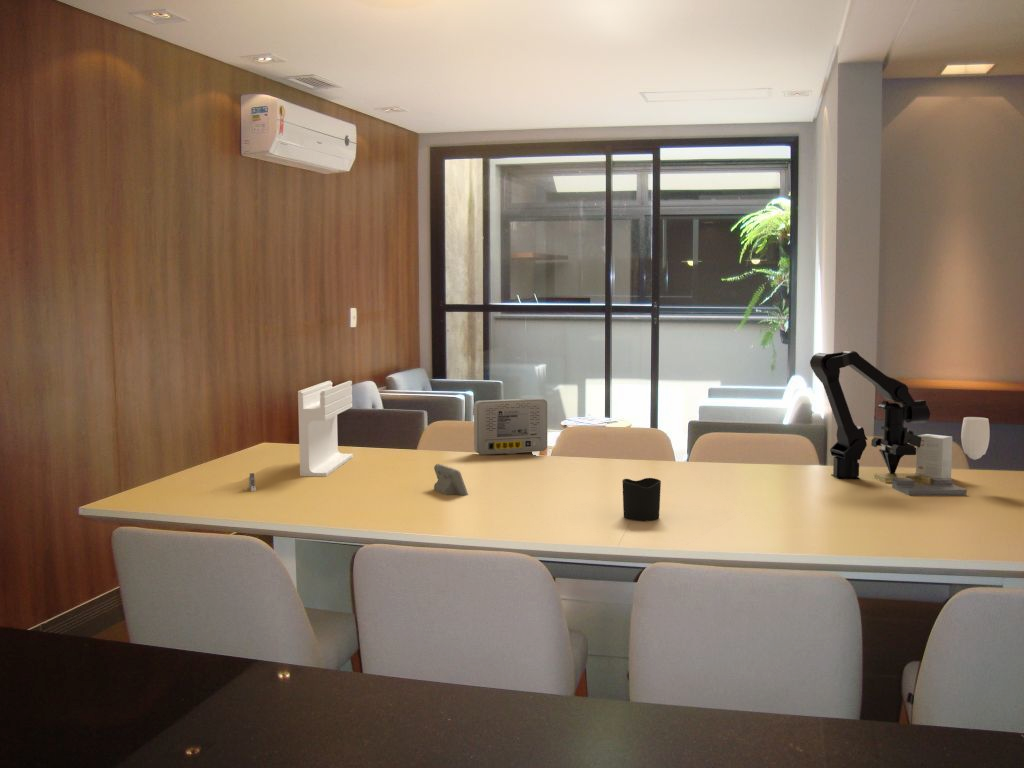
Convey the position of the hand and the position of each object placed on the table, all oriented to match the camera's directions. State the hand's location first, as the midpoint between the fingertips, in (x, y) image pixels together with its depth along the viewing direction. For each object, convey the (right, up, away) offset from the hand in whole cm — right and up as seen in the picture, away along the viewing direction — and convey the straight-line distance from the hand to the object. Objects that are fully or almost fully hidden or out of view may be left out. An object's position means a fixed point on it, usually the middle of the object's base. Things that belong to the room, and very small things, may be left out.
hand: (892, 473), depth 290 cm
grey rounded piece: (+14, -3, -21) cm, 26 cm away
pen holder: (-84, -7, -54) cm, 100 cm away
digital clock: (-133, -5, -28) cm, 136 cm away
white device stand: (-175, -1, +11) cm, 175 cm away
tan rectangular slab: (0, -2, -9) cm, 9 cm away
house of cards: (-190, -5, -27) cm, 192 cm away
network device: (-117, +2, +40) cm, 123 cm away
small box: (+12, -1, -2) cm, 12 cm away
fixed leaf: (+1, -3, -24) cm, 24 cm away
